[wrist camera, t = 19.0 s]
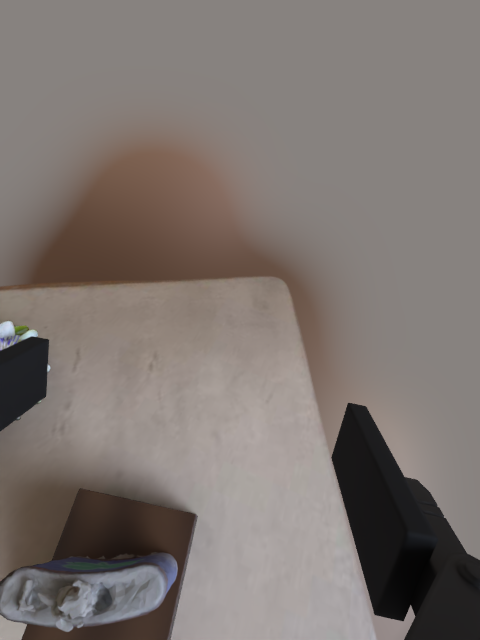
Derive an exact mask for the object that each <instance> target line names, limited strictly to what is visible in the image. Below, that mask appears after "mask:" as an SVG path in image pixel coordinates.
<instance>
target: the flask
mask: <svg viewBox="0 0 480 640" xmlns="http://www.w3.org/2000/svg"><path fill="white" fill-rule="evenodd" d="M177 571H178V567H177V562H176V560H175V559H174V557H173V556H172V555H171V554H168V553H164V552H163V553H157V552H154V553H151V554H150V555H147V556H138V555H137V556H136V555H134V554H131V555H128V554H127V553H126V554H124V555H119V556H117V557H114V558H112V559H105V557H104V556H103V557H100V558H98V559H91V558H89V557H88V556H87V557H80V556H77V557H73V556H71V557H69V558H66V559H62V560H54V561H50V562H48V563H44V564H37V565H33V566H26V567H21V568H19V569H17V570H14V571H12V572H11V573H9V574H8V575H7V576H6V577H5V578H4V579H3V580H2V581H1V582H0V615H2V616H3V617H4V618H6V619H7V620H11V621H14V622H23V623H25V624H33V625H39V626H44V627H54V628H59V629H61V630H63V631H65V632H69V631H70V630H72V629H73V628H74V627H77V628H80V627H87V626H99V625H103V624H110V623H115V622H119V621H124V620H128V619H132V618H136V617H139V616H142V615H146V614H148V613H149V612H151V611H153V610H155V609H157V608H158V607H159V606H160V605H161V603H162V602H163V600H164V598H165V596H166V594H167V592H168V590H169V589H170V587H171V585H172V584H173V583H174V581H175V579H176V576H177Z"/></svg>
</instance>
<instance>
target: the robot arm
mask: <svg viewBox="0 0 480 640" xmlns="http://www.w3.org/2000/svg"><path fill="white" fill-rule="evenodd" d="M48 348H49V340H48V339H43V338H38V337H34V336H31V337H29V338H27V339H25V340H22V341H20V342H18V343H16V344H14V345H12V346H9V347H7V348H5V349H3V350H1V351H0V431H2V430H3V429H4V428H5V427H7V426H8V425H9V424H11V423H12V422H13V421H15V420H16V419H17V418H18V417H20V416H21V415H22V414H24V413H25V412H26V411H28V410H29V409H30V408H32V407H33V406H34V405H35V404H37V403H38V402H39V401H41V400H42V399H43V398H45V397H46V387H47V368H48ZM331 458H332V461H333V465H334V469H335V472H336V476H337V479H338V483H339V487H340V490H341V494H342V498H343V501H344V505H345V509H346V512H347V516H348V520H349V523H350V527H351V530H352V534H353V538H354V541H355V545H356V549H357V552H358V556H359V560H360V563H361V567H362V570H363V574H364V578H365V581H366V585H367V589H368V592H369V596H370V600H371V603H372V607H373V610H374V614H375V615H377V616H382V617H386V618H391V619H395V620H400V621H404V619H405V616H406V614H407V612H408V609H409V607H410V605H411V606H412V609H413V611H414V614H415V619H414V621H413V623H412V625H411V627H410V629H409V631H408V633H407V635H406V637H405V639H404V640H480V560H478V559H476V558H474V557H473V556H471V555H469V554H467V553H466V551H465V549H464V548H463V546H462V544H461V543H460V541H459V540H458V538H457V536H456V535H455V533H454V531H453V530H452V528H451V526H450V525H449V523H448V521H447V520H446V518H444V515H443V514H442V512H441V510H440V508H439V507H437V503H436V502H435V500H434V499H433V497H432V495H431V494H430V492H429V491H428V490H427V489H426V488H425V487H423V485H422V484H421V483H420V482H419V481H418V480H415V479H411V478H406V477H404V475H403V473H402V472H401V470H400V468H399V466H398V464H397V463H396V461H395V459H394V457H393V455H392V453H391V451H390V450H389V448H388V446H387V445H386V442H385V440H384V439H383V437H382V435H381V433H380V431H379V430H378V428H377V426H376V424H375V422H374V420H373V419H372V417H371V415H370V413H369V411H368V409H367V407H366V406H362V405H357V404H352V403H348V405H347V408H346V411H345V415H344V418H343V421H342V425H341V428H340V431H339V435H338V438H337V441H336V444H335V448H334V451H333V454H332V457H331Z"/></svg>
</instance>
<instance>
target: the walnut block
mask: <svg viewBox="0 0 480 640" xmlns="http://www.w3.org/2000/svg"><path fill="white" fill-rule="evenodd" d="M197 517H198V516H197V515H196V514H192V513H188V512H183V511H179V510H175V509H170V508H166V507H161V506H157V505H152V504H148V503H143V502H139V501H134V500H130V499H125V498H121V497H116V496H112V495H107V494H103V493H99V492H94V491H90V490H85V489H79V491H78V494H77V496H76V499H75V501H74V504H73V507H72V509H71V512H70V515H69V517H68V520H67V522H66V525H65V528H64V530H63V533H62V535H61V538H60V541H59V543H58V546H57V548H56V551H55V554H54V556H53V559H52V561H54V560H62V559H66V558H69V557H71V556H73V557H77V556H80V557H87V556H88V557H89V558H91V559H98V558H100V557H103V556H104V557H105V559H112V558H114V557H117V556H119V555H124V554H126V553H127V554H128V555H131V554H134V555H136V556H137V555H138V556H147V555H150V554H151V553H154V552H157V553H163V552H164V553H168V554H171V555H172V556H173V557H174V559H175V560H176V562H177V567H178V571H177V576H176V579H175V581H174V583H173V584H172V585H171V587H170V589H169V590H168V592H167V594H166V596H165V598H164V600H163V602H162V603H161V605H160V606H159V607H158V608H157V609H155V610H153V611H151V612H149V613H148V614H146V615H142V616H139V617H136V618H132V619H128V620H124V621H119V622H115V623H110V624H103V625H99V626H87V627H80V628H77V627H74V628H73V629H72V630H70V631H69V632H65V631H63V630H61V629H59V628H54V627H44V626H39V625H33V624H27V627H26V629H25V632H24V635H23V637H22V640H170V639H171V634H172V630H173V625H174V621H175V616H176V612H177V607H178V603H179V598H180V594H181V589H182V585H183V580H184V575H185V571H186V566H187V562H188V557H189V553H190V548H191V544H192V539H193V535H194V530H195V526H196V521H197Z"/></svg>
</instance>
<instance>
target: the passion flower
mask: <svg viewBox="0 0 480 640" xmlns="http://www.w3.org/2000/svg"><path fill="white" fill-rule="evenodd" d="M28 330H29V328H28V327H27V326H15V325H13V323H12V322H11V321H5V322H3V323H0V351H1V350H3V349H5V348H7V347H9V346H12V345H14V344H16V343H18V342H20V341H22V340H25V339H27V338H29V337H31V336H34V337H38V333H37V331H36V330H29V331H28ZM49 370H50V366H49V365H48V368H47V372H49ZM40 402H41V401H39V402H38V403H37V404H39V403H40ZM16 420H20V417H18V418H17V419H16Z"/></svg>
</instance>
